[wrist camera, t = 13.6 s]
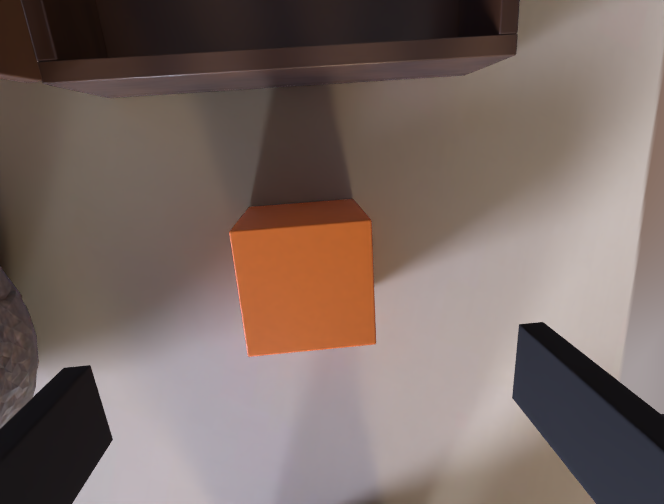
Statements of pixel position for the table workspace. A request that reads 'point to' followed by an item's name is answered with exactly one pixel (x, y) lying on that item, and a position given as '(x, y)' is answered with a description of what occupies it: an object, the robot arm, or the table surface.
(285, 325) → the cube
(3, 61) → the lid
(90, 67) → the box
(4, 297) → the bowl
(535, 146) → the table surface
